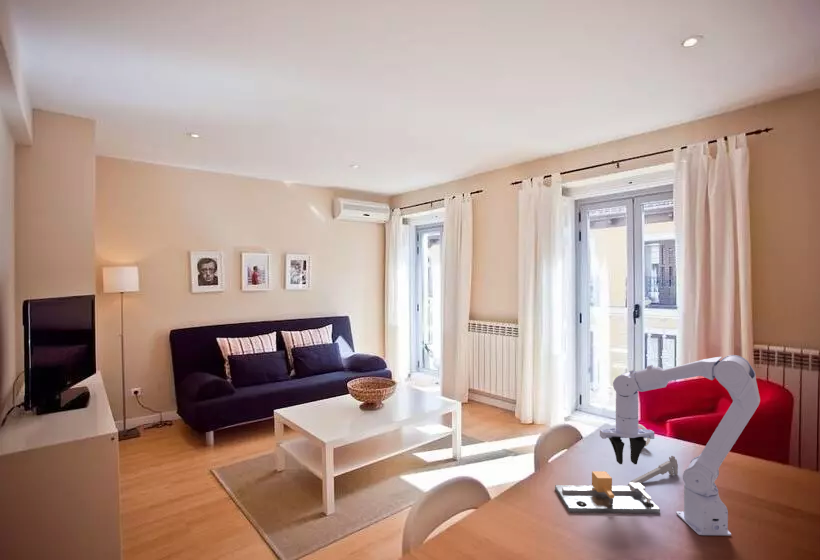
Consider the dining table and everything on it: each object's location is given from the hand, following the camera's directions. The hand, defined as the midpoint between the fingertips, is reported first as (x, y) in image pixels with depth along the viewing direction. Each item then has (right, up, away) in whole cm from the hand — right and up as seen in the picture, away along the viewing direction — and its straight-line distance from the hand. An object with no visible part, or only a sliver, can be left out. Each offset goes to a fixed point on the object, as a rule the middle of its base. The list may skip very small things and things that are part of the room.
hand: (626, 462), depth 120 cm
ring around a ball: (+22, -9, +35) cm, 42 cm away
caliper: (+13, -10, +10) cm, 19 cm away
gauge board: (-7, -10, -2) cm, 12 cm away
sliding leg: (-7, -8, -2) cm, 11 cm away
